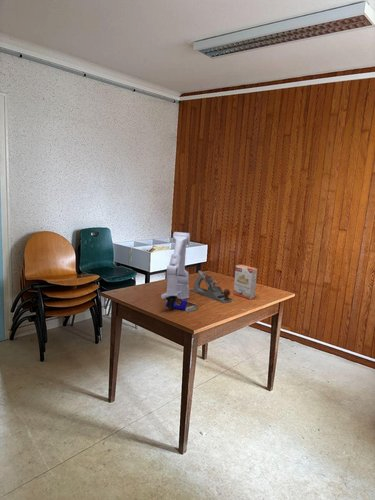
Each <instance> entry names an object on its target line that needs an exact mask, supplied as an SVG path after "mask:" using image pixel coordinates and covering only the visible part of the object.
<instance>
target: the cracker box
mask: <svg viewBox="0 0 375 500" xmlns="http://www.w3.org/2000/svg"><path fill="white" fill-rule="evenodd" d="M257 276H258V268H256V267H252V266H249V265H245V264H236V265H235V272H234V282H233V284H234V285H233V295H234V296H238V297H241V298H243V299H246V300H253V299H255V297H256V288H257V278H258V277H257Z"/></svg>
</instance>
